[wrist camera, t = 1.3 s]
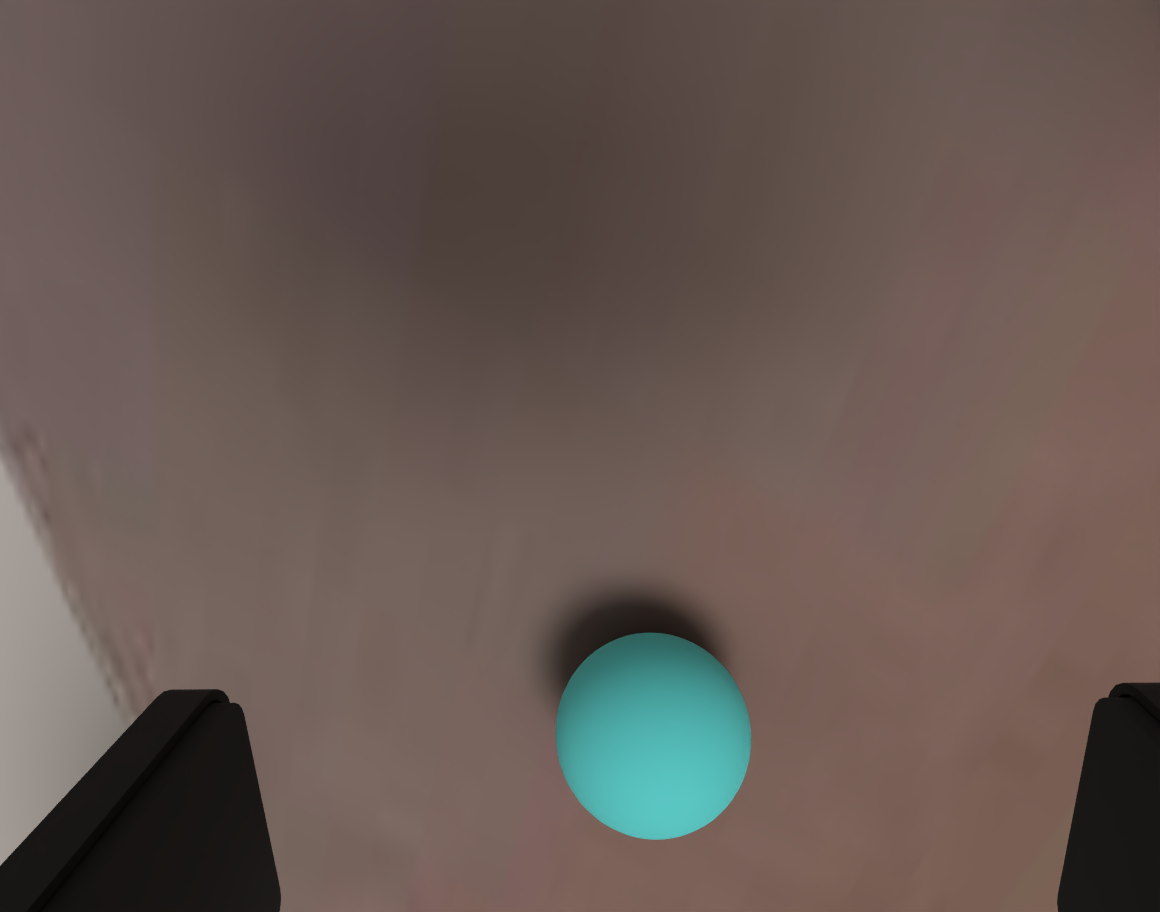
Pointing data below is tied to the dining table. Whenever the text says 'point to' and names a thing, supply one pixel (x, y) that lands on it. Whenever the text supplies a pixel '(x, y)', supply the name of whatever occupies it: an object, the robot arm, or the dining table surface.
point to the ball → (653, 736)
